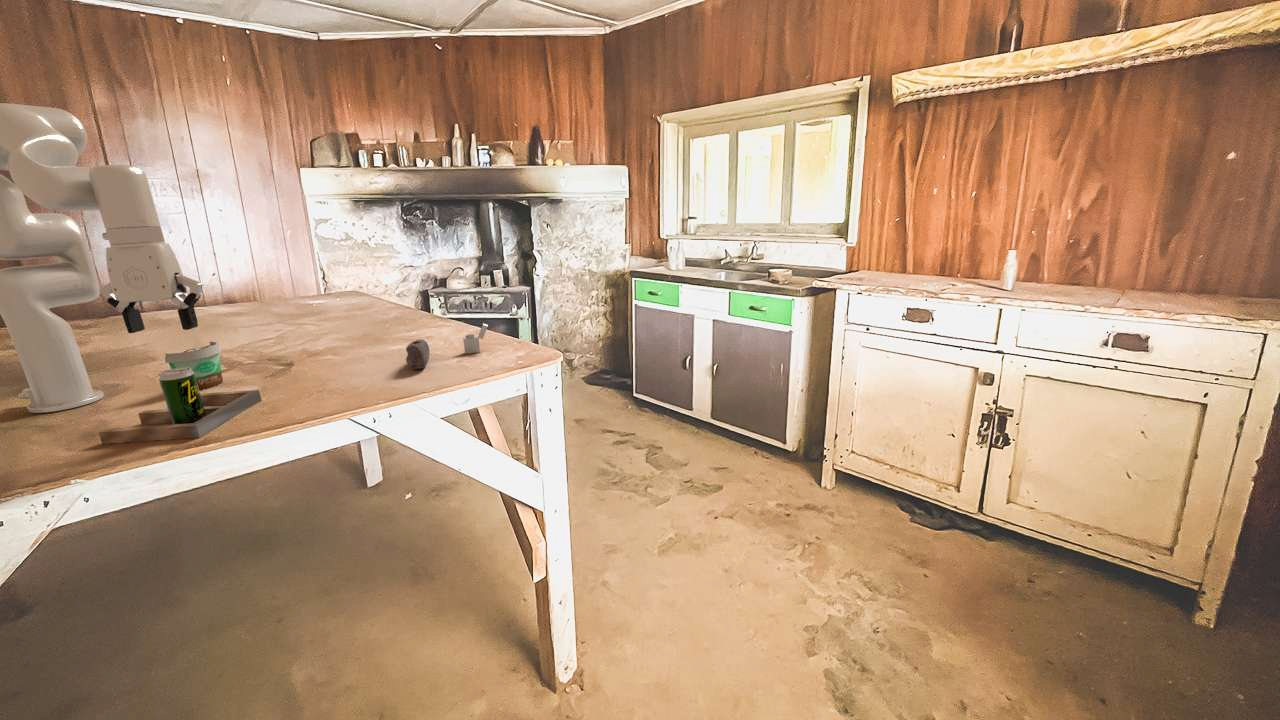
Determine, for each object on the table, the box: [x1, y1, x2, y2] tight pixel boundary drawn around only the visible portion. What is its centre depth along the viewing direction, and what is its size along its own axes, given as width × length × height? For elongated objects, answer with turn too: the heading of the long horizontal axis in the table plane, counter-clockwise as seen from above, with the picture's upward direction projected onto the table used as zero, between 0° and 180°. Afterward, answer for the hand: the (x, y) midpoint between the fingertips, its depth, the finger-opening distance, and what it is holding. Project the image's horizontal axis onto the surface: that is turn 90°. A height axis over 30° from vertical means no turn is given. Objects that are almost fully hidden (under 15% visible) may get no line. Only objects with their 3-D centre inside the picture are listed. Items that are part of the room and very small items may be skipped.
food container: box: [164, 341, 224, 391], centre depth 135 cm, size 12×6×10 cm, turn 168°
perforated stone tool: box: [405, 338, 430, 370], centre depth 147 cm, size 15×5×7 cm, turn 11°
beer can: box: [158, 367, 206, 425], centre depth 108 cm, size 5×5×12 cm
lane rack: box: [98, 389, 262, 445], centre depth 114 cm, size 18×20×2 cm
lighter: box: [462, 322, 489, 355], centre depth 157 cm, size 7×2×8 cm, turn 106°
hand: (164, 329), depth 104 cm, fingers open, 9 cm apart
